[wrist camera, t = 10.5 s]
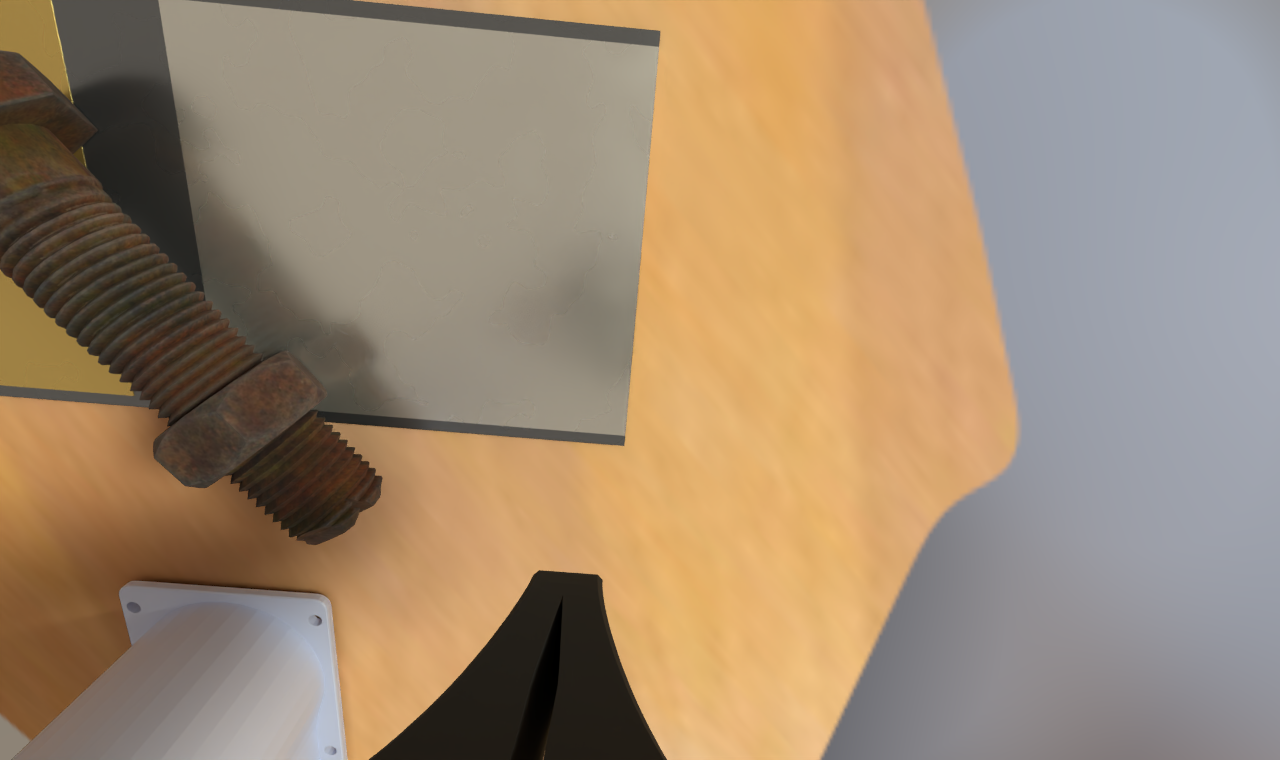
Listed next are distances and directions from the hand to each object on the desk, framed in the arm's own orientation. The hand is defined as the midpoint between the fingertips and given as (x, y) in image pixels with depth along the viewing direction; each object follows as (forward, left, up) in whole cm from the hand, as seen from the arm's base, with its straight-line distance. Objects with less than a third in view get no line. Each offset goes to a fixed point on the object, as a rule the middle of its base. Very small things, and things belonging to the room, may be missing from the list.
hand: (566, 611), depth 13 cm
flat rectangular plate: (+6, +13, -9) cm, 17 cm away
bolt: (+3, +13, -9) cm, 16 cm away
